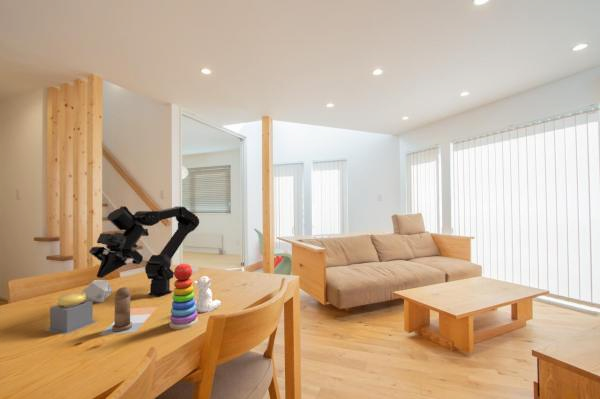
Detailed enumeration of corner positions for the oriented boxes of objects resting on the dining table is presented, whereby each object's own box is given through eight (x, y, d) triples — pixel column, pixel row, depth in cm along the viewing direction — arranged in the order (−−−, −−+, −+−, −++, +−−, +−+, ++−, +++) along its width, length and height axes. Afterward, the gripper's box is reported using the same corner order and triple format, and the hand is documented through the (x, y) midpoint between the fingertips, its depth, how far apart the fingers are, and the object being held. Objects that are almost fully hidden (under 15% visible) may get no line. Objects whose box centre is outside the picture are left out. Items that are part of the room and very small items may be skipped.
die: (88, 308, 98) (108, 284, 101) (71, 295, 100) (92, 272, 103) (103, 309, 106) (121, 286, 109) (87, 296, 107) (106, 275, 110)
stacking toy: (175, 320, 86) (175, 261, 87) (201, 319, 87) (201, 260, 87) (164, 332, 78) (165, 266, 79) (193, 331, 79) (194, 266, 79)
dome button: (75, 315, 85) (76, 291, 85) (90, 318, 83) (91, 293, 83) (51, 324, 79) (52, 298, 79) (67, 327, 77) (67, 300, 77)
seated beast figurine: (221, 305, 100) (221, 272, 100) (218, 314, 91) (218, 278, 92) (193, 306, 98) (193, 273, 98) (188, 316, 90) (188, 279, 90)
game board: (129, 310, 94) (129, 308, 94) (157, 309, 96) (157, 306, 96) (98, 337, 75) (98, 334, 75) (134, 335, 77) (134, 332, 77)
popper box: (77, 320, 87) (77, 297, 87) (98, 323, 84) (98, 300, 84) (43, 332, 78) (43, 308, 78) (65, 337, 75) (65, 311, 76)
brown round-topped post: (125, 323, 82) (125, 284, 83) (135, 326, 80) (136, 286, 81) (108, 330, 78) (109, 288, 78) (119, 333, 76) (119, 290, 76)
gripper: (94, 223, 97) (59, 261, 86) (135, 224, 91) (102, 265, 80) (115, 242, 104) (85, 279, 94) (154, 244, 99) (126, 284, 88)
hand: (98, 277), depth 89 cm, fingers closed
